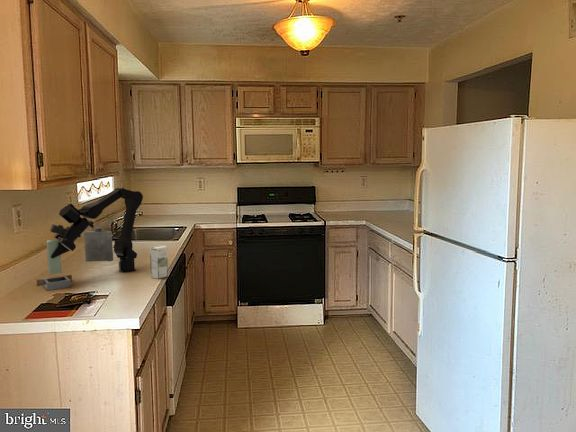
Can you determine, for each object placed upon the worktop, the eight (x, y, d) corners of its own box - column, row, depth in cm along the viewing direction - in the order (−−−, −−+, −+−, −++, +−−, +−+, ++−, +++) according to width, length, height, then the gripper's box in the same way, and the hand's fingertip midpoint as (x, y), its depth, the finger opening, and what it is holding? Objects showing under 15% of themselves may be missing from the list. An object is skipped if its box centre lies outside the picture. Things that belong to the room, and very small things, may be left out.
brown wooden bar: (71, 279, 217) (70, 274, 217) (72, 280, 216) (71, 275, 216) (36, 284, 209) (36, 279, 209) (37, 285, 208) (37, 280, 208)
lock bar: (59, 270, 211) (57, 239, 209) (61, 272, 207) (59, 240, 206) (48, 272, 209) (46, 240, 207) (50, 274, 205) (48, 242, 203)
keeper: (66, 282, 213) (65, 275, 213) (70, 286, 206) (70, 280, 205) (43, 285, 208) (43, 278, 207) (47, 290, 201) (46, 283, 200)
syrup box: (160, 274, 226) (159, 244, 224) (168, 276, 222) (167, 246, 220) (150, 277, 221) (149, 246, 220) (158, 279, 218) (157, 248, 216)
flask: (87, 259, 259) (85, 226, 257) (114, 259, 260) (112, 226, 258) (84, 261, 256) (82, 227, 254) (112, 260, 256) (110, 227, 254)
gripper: (57, 215, 215) (31, 242, 210) (65, 219, 200) (37, 248, 195) (77, 231, 220) (52, 257, 215) (86, 236, 205) (60, 265, 200)
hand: (50, 256), depth 206 cm, fingers closed on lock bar, 4 cm apart
